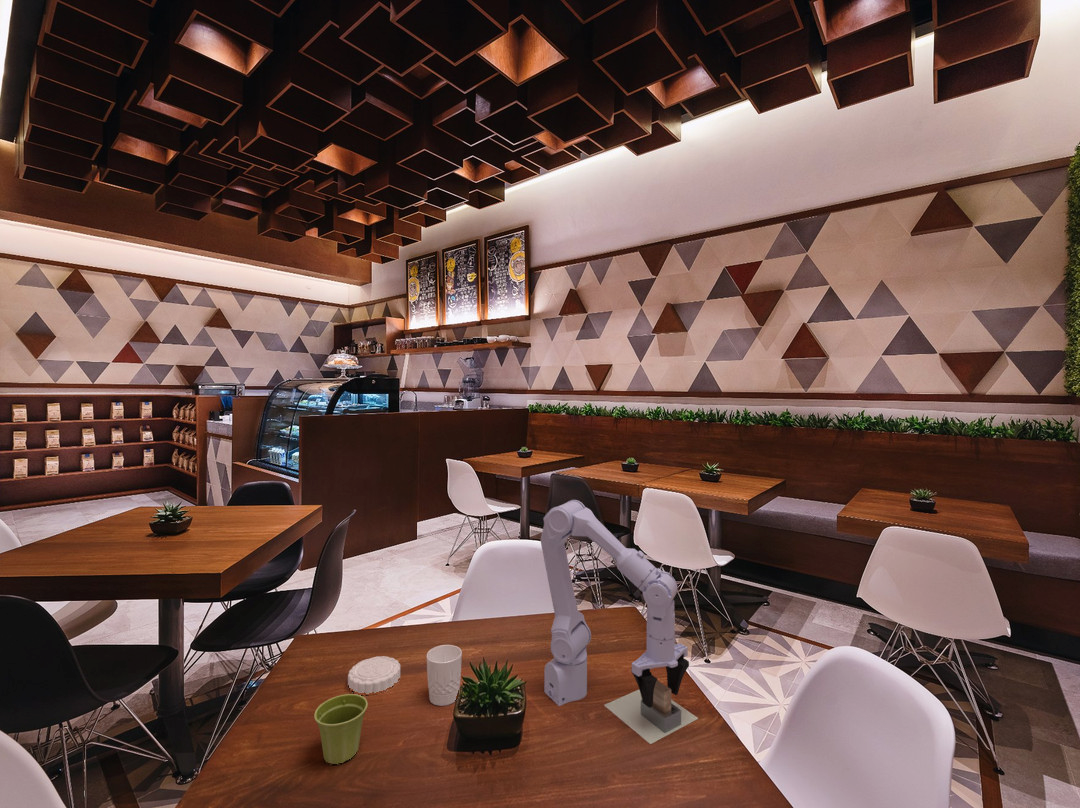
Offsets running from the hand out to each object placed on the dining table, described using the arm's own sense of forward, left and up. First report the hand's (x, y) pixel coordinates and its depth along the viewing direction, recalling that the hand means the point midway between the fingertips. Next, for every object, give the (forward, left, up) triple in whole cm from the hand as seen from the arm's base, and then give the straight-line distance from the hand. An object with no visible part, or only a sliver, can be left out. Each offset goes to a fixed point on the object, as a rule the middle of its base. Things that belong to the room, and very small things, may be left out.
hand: (660, 698), depth 99 cm
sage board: (0, +3, -5) cm, 6 cm away
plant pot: (-58, +27, -6) cm, 64 cm away
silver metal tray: (0, 0, -5) cm, 5 cm away
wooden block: (0, 0, -4) cm, 4 cm away
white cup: (-35, +33, -6) cm, 48 cm away
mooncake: (-47, +48, -6) cm, 67 cm away
